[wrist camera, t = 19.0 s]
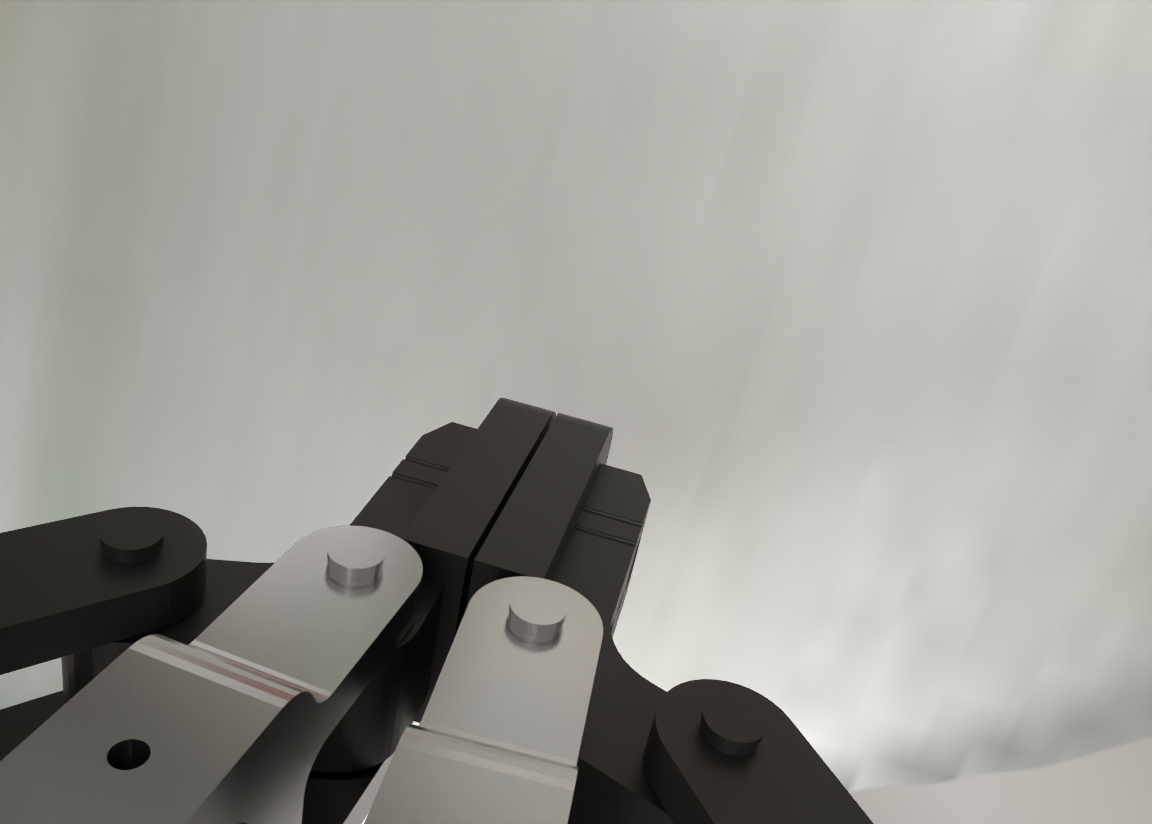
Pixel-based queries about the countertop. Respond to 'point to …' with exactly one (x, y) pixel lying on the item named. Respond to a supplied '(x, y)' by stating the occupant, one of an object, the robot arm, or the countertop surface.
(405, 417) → the countertop surface
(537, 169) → the countertop surface
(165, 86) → the countertop surface
